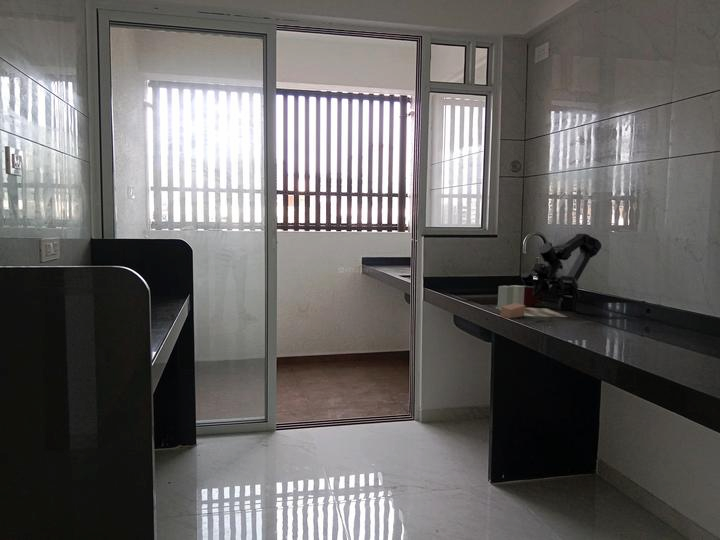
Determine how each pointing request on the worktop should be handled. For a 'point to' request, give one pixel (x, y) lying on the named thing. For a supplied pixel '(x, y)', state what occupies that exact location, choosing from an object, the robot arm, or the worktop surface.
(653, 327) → the worktop surface
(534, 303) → the mug
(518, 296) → the cream block
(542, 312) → the maple board
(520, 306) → the terracotta block
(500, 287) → the sage block
